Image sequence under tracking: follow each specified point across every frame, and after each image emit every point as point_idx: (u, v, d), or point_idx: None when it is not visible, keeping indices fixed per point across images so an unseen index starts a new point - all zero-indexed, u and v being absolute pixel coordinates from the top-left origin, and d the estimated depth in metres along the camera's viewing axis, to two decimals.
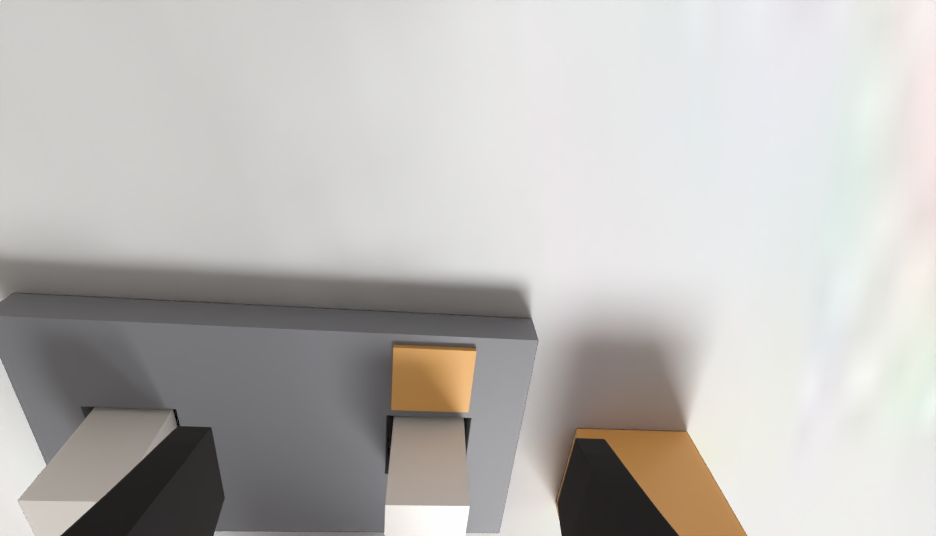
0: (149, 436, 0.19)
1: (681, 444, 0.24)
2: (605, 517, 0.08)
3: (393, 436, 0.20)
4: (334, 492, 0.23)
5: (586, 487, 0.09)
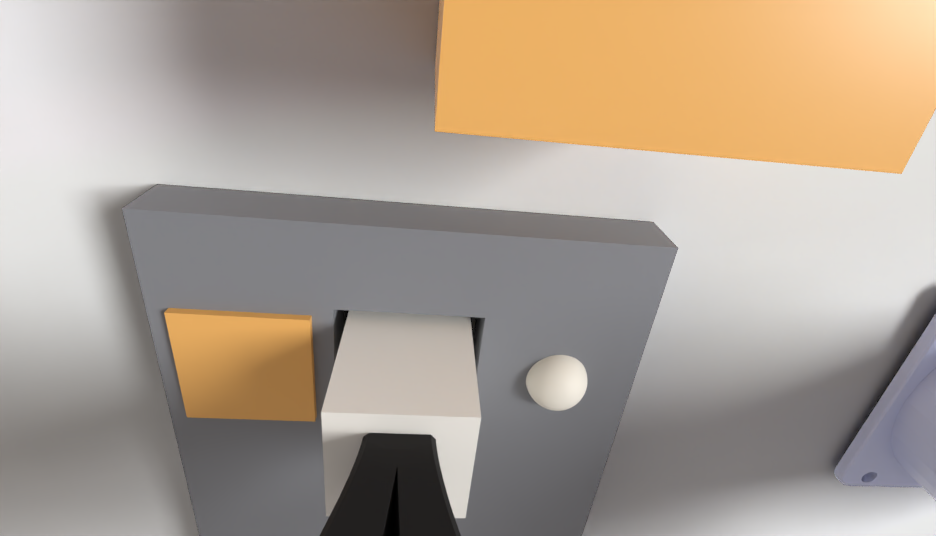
0: None
1: None
2: (397, 514, 0.08)
3: None
4: (505, 483, 0.15)
5: (397, 483, 0.09)
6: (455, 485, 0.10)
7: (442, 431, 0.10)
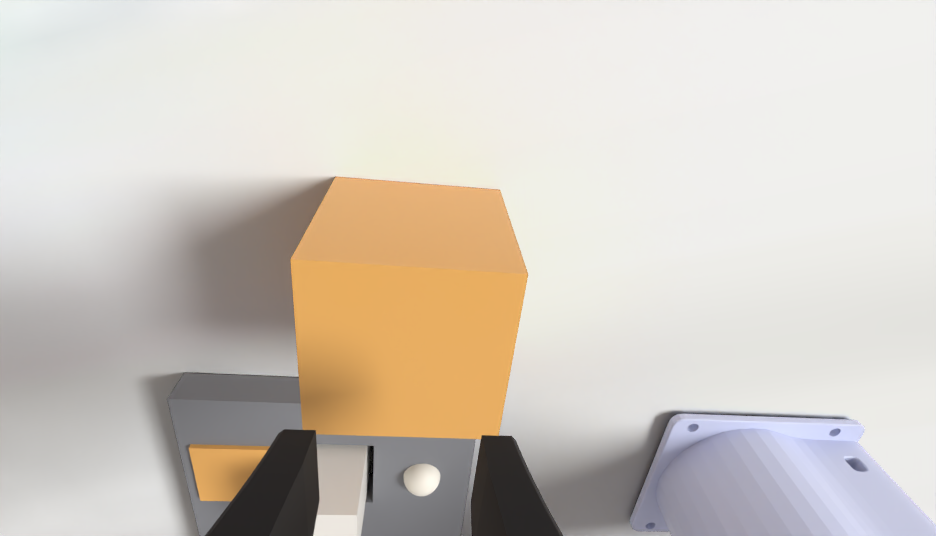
0: None
1: None
2: (494, 515, 0.08)
3: None
4: (400, 534, 0.24)
5: (485, 485, 0.09)
6: None
7: (337, 522, 0.18)
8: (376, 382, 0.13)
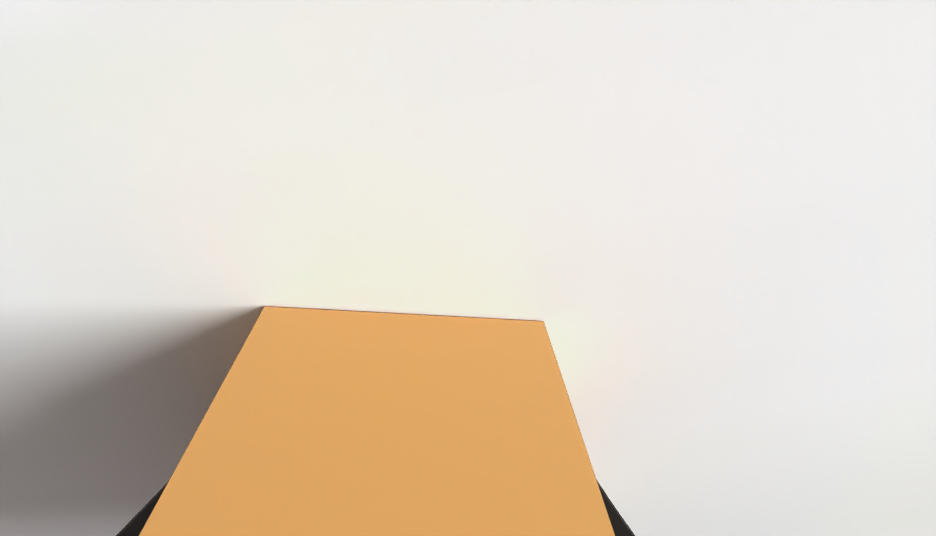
0: None
1: None
2: None
3: None
4: None
5: None
6: None
7: None
8: None
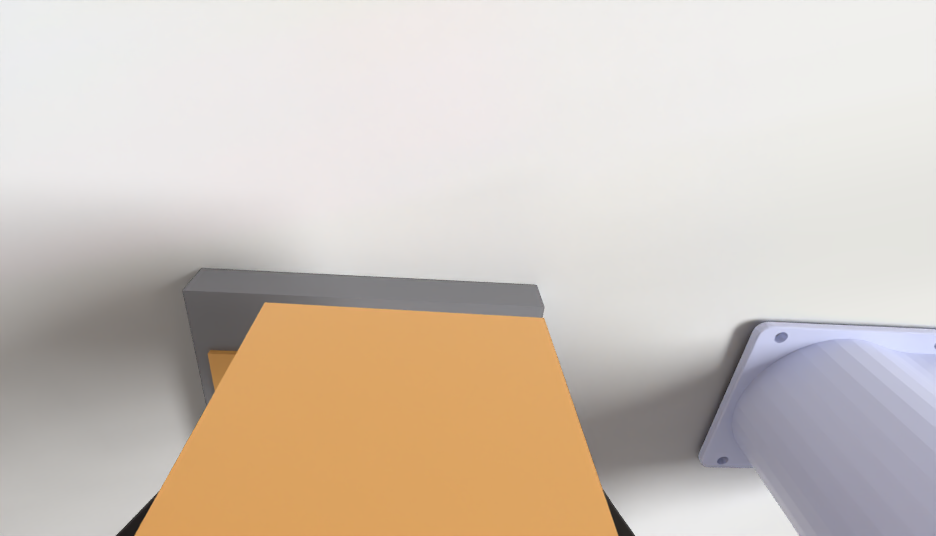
0: None
1: None
2: None
3: None
4: None
5: None
6: None
7: None
8: None
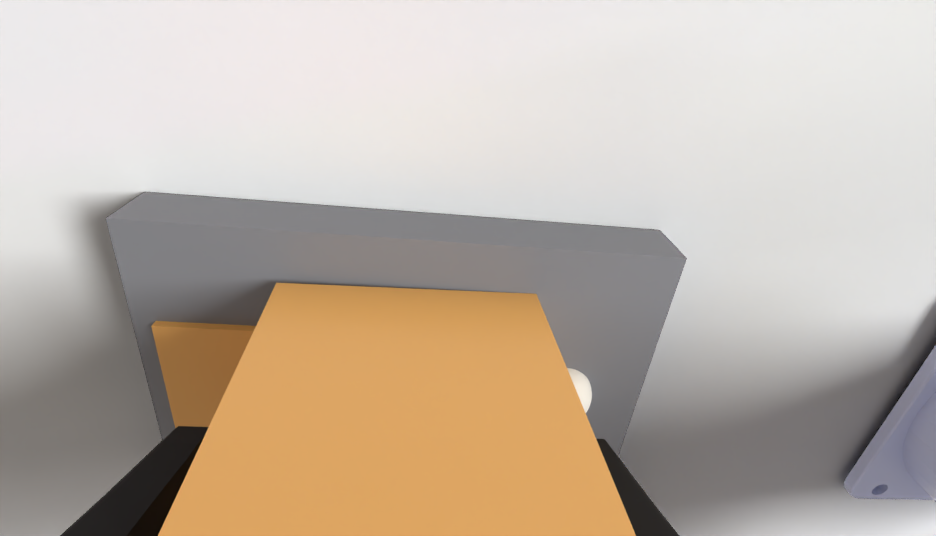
0: None
1: None
2: None
3: None
4: None
5: None
6: None
7: None
8: None
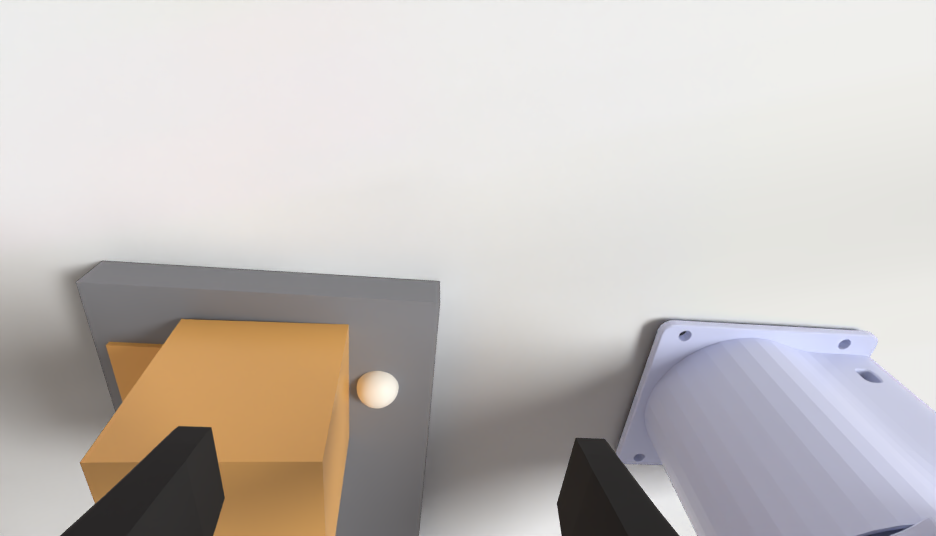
0: None
1: None
2: (605, 517, 0.08)
3: None
4: (357, 459, 0.21)
5: (586, 487, 0.09)
6: None
7: None
8: None
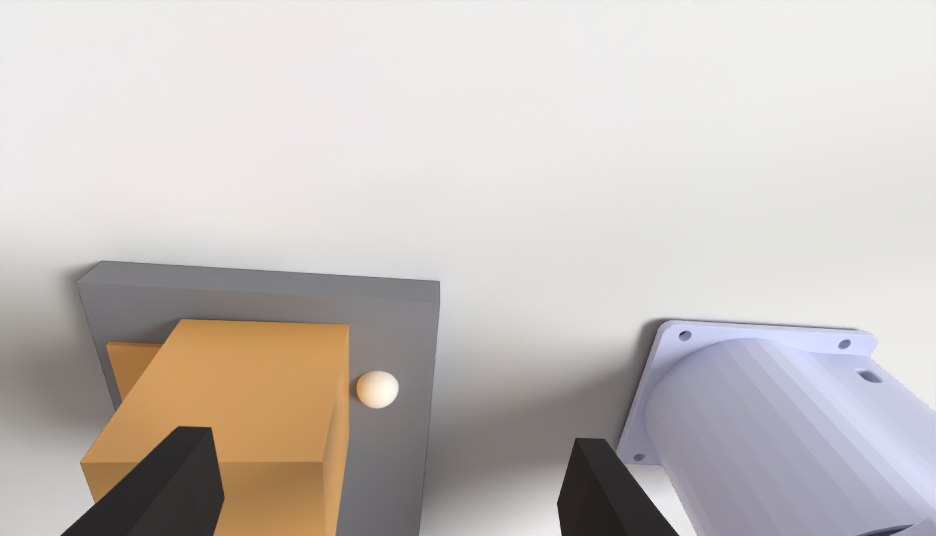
0: None
1: None
2: (605, 517, 0.08)
3: None
4: (357, 459, 0.21)
5: (586, 487, 0.09)
6: None
7: None
8: None
